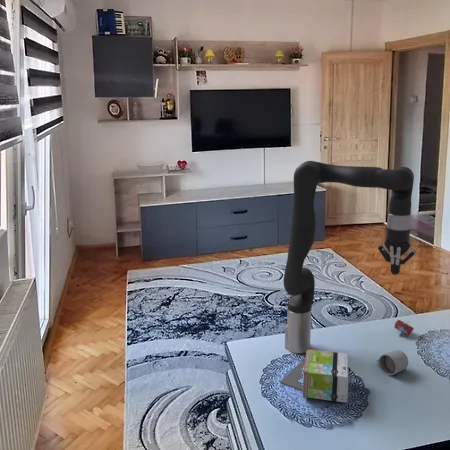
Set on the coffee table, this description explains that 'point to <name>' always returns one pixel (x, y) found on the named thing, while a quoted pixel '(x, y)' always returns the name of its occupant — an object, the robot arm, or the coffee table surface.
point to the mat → (294, 377)
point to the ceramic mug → (393, 362)
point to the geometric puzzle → (403, 327)
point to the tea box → (326, 375)
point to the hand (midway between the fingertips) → (395, 273)
